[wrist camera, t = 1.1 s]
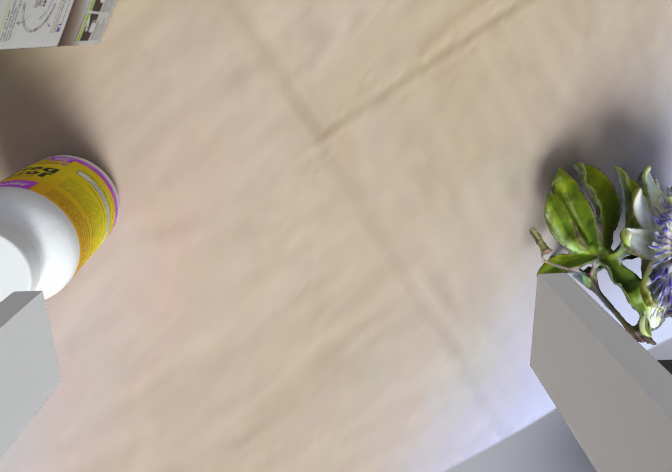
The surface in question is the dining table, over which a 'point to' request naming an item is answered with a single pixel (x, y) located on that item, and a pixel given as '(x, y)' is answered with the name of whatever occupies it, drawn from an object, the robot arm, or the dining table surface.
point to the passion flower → (597, 237)
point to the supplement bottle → (53, 222)
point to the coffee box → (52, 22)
